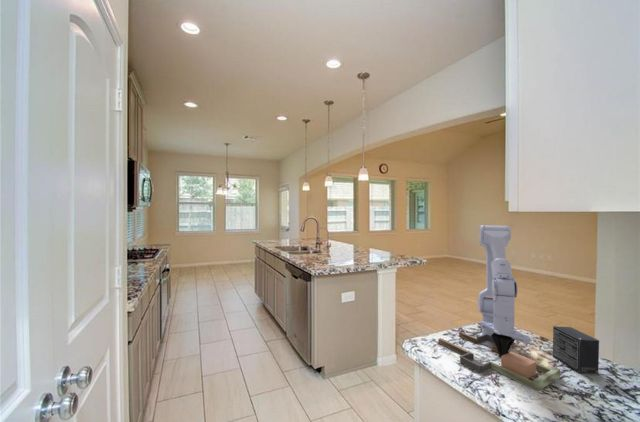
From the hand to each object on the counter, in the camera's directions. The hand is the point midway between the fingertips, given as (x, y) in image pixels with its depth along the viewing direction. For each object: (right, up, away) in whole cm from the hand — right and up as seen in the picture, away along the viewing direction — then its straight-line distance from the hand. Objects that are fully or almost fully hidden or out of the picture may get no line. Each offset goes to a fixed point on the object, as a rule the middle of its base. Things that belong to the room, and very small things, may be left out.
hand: (503, 357), depth 93 cm
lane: (-2, -2, +3) cm, 4 cm away
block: (+2, -2, -4) cm, 5 cm away
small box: (+23, -3, 0) cm, 23 cm away
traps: (-3, -2, +6) cm, 7 cm away
